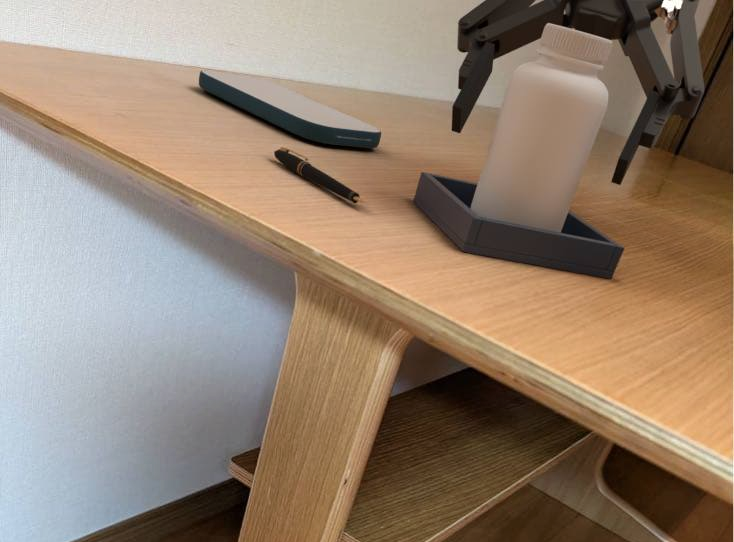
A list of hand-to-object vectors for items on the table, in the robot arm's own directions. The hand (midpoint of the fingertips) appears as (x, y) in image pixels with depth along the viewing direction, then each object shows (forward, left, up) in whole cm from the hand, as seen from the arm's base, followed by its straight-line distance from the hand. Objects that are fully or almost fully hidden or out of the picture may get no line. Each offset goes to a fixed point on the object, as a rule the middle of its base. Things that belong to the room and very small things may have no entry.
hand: (535, 146), depth 64 cm
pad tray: (-1, -2, -8) cm, 8 cm away
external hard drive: (+13, -37, -8) cm, 40 cm away
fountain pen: (+15, -8, -8) cm, 18 cm away
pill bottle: (-1, -2, -7) cm, 8 cm away
